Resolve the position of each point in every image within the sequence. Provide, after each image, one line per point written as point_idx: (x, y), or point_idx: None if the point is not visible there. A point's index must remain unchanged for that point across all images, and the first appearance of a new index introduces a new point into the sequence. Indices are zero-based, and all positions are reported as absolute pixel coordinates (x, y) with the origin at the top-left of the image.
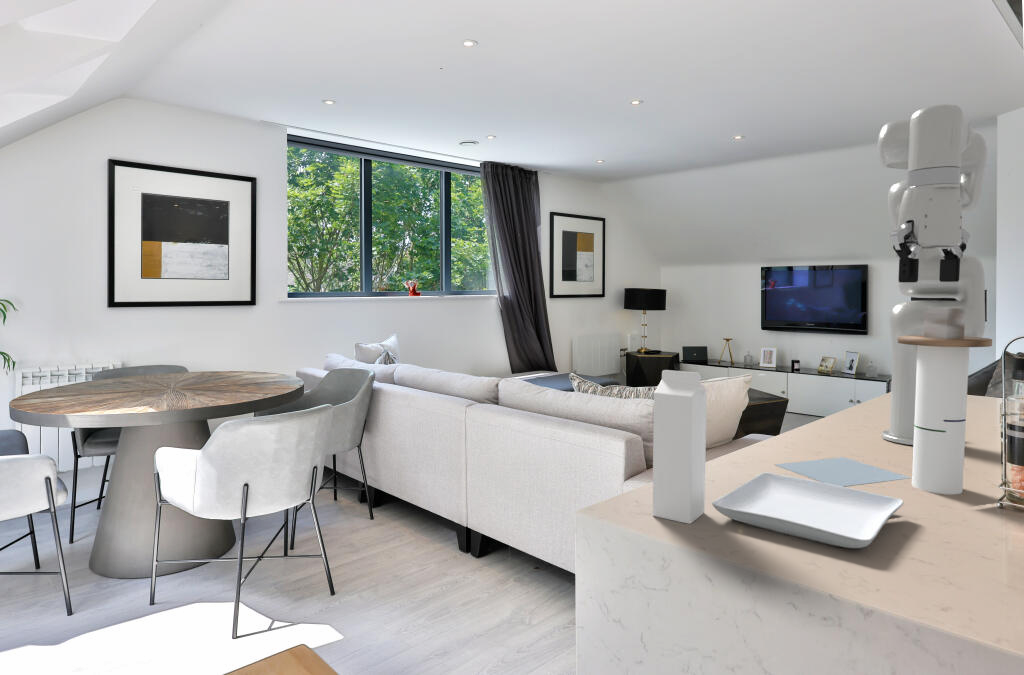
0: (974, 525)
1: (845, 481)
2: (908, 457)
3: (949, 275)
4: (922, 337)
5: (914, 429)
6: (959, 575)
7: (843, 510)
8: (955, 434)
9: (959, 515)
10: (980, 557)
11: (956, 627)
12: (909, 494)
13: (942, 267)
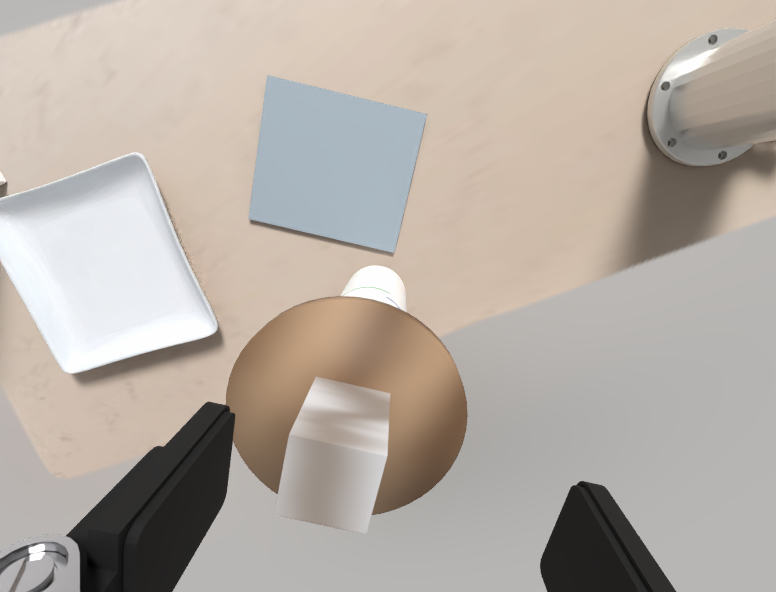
0: None
1: (286, 209)
2: (542, 173)
3: (563, 569)
4: (311, 376)
5: (346, 292)
6: (133, 420)
7: (165, 284)
8: None
9: None
10: (191, 414)
11: (47, 453)
12: (324, 284)
13: (618, 586)
